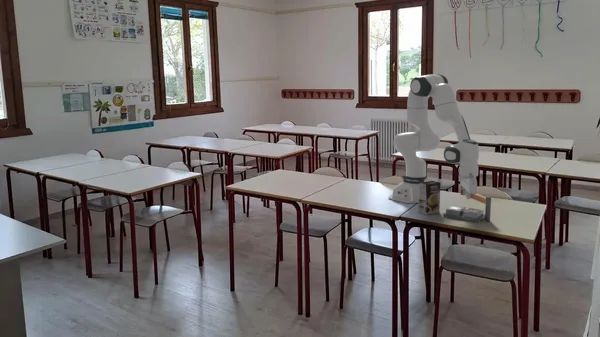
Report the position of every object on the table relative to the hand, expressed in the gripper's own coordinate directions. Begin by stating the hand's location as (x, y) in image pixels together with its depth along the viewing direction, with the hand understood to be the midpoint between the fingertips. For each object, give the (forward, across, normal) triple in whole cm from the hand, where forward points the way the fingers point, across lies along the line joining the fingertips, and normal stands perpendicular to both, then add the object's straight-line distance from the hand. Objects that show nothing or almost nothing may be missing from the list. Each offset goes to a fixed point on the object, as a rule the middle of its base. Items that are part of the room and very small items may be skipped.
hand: (468, 198), depth 259 cm
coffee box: (+8, +3, +19) cm, 21 cm away
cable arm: (+8, -1, -3) cm, 9 cm away
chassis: (+8, -5, +3) cm, 10 cm away
